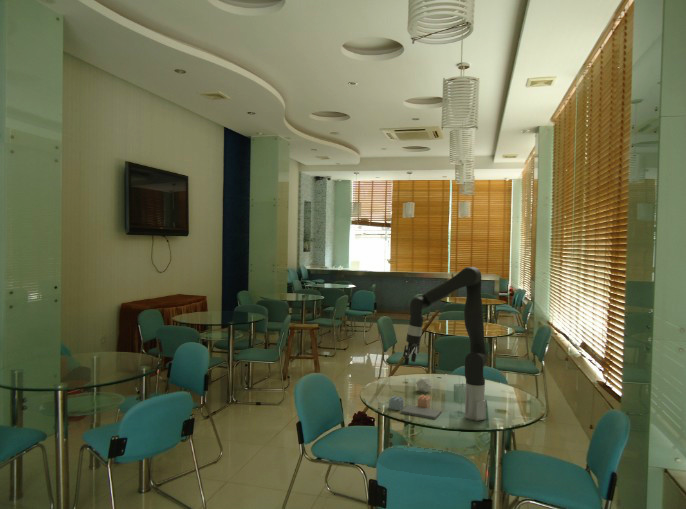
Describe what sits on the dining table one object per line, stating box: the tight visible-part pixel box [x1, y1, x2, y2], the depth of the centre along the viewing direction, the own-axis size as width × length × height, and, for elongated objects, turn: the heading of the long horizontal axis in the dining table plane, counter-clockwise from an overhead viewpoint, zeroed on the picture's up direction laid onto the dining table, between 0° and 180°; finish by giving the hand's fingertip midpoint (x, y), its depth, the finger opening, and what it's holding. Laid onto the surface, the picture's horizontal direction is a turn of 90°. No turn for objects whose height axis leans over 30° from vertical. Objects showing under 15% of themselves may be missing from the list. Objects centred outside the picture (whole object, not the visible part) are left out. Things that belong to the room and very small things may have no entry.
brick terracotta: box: [417, 394, 431, 409], centre depth 274 cm, size 6×5×6 cm
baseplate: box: [400, 404, 443, 420], centre depth 264 cm, size 18×11×1 cm, turn 63°
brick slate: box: [388, 395, 404, 411], centre depth 271 cm, size 6×5×6 cm
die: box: [415, 376, 433, 393], centre depth 303 cm, size 8×9×10 cm
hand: (409, 362), depth 277 cm, fingers open, 8 cm apart
